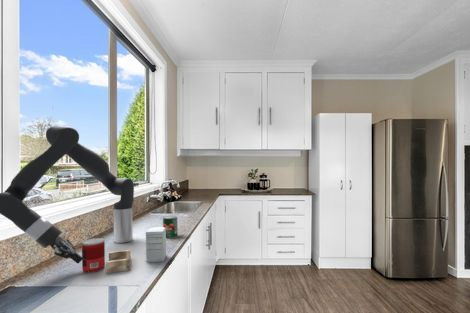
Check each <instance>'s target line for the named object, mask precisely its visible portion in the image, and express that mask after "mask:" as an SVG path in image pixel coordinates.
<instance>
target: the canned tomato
mask: <svg viewBox="0 0 470 313" xmlns="http://www.w3.org/2000/svg"><path fill="white" fill-rule="evenodd" d="M162 227H166V240H168V239H175V238H177V237H178V236H179V235H178V234H179V233H178V215H165V216H163V217H162Z"/></svg>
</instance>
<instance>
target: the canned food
mask: <svg viewBox="0 0 470 313" xmlns="http://www.w3.org/2000/svg"><path fill="white" fill-rule="evenodd" d="M105 246H106V245H105V238H99V237H96V238H89V239H85V240H83V241H82V243H81V257H82V261H81V263H82V264H81V267H82V268H81V269H82V271H83V272H84V273H89V274H90V273H95V272H99V271H102V270H103V269H104V268H105V267H106V258H105V257H106V255H105V254H106V252H105V251H106V250H105Z"/></svg>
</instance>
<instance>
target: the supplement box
mask: <svg viewBox="0 0 470 313" xmlns="http://www.w3.org/2000/svg"><path fill="white" fill-rule="evenodd" d="M145 257H146V260H145V261H146V263H151V262H152V263H155V262H156V263H157V262H164V261H165V259H166V257H167V239H166V227H163V226H161V227H159V226H158V227H148V229H147V230H146V231H145Z"/></svg>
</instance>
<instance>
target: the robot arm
mask: <svg viewBox="0 0 470 313" xmlns="http://www.w3.org/2000/svg"><path fill="white" fill-rule="evenodd" d="M45 138H46V140H47V143H49V145H50V146H49V147H48V148H47V149H46V150H45V151H44V152H43V153H42V154H40V155H39V156H37V157H36V158H33V160H30V161H29V162H28V163H27V164H25V165H24V166H23V167H22V168H21V169H20V170H19V171H18V173H17V174H16V175H15V176H13V177H14V178H12V180H11V181H10V185H9V186H8V187H7V189H5V190H4V192H0V215H2V216H4V217H5V218H6V219H8V220H10V221H11V222H12V223H13V224H14V225H15V226H16V227H17V228H19V229H20V230H22V232H24V233H25V234H26V235H27V236H28V237H29V238H30V239H32V240H33V241H34V242H36V243H37V244H38V245H39V246H41V247H42V248H44V249H47V247H48V248H49V246H50V248H51V249H52V250H53V251H54V255H55V256H59V257H62V259H63V258H64V259H71V260H72V261H74V262H75V263H76V264H79V263H82V255H80V254H79V253H78V252H77V251H76V248H75V246H74V245H73V243H72V242H71V241H70V240H69V239H68V238H67V239H66V238H63V237H61V236H60V235H61V234H62V231H61V230H60V229H59V228H58V227H57V226H55V225H54V224H52V223H51V222H50V221H49V220H47V219H46V218H44V217H42V216H41V215H40V214H38V213H37V212H36V211H35V210H33V209H31V208H29V207H28V205H26V203H24V200H25V198H27V196H28V194H29V193H30V191H32V189H33V188H34V187H35V186H36V185H37V184H38V182H40V181H41V179H42V178H43V176H44V175H46V174H47V172H48V171H49V170H50V169H51V168H52V167H53V166H54V165H56V164H57V162H58V161H60V160H61V159H62V158H63V157H65V155H67V156H68V157H69V158H70V159H72V160H73V162H74V163H76V164H77V165H79V166H80V167H81V168H82V169H83V170H84V171H85V172H87V173H88V174H89V175H90V176H92V177H93V178H95V179H96V180H97V181H98V182H100V183H101V184H102V185H103V186H104V187H105V188H106V189H107V190H108V192H110V193H111V194H113V195H115V196H120V198H119V200H118V201H116V202H114V203H113V242H114V243H116V244H121V243H129V242H131V241H133V239H134V237H133V235H134V234H133V231H134V230H133V204H134V196H135V185H134V182H133V180H132V179H131V178H129V177H128V178H127V177H117V176H115V175H114V174H113V173H111V171H110V166H109V163H108V162H107V160H105V159H104V158H103V157H102V156H101V155H100V154H98V153H97V152H95V151H94V150H92V149H90V148H88V147H86V146H84V145H82V144H81V143H79V139H80V134H79V132H78V130H77V129H76V128H74V127H72V126H66V125H59V124H58V125H57V124H56V125H52V126H50V127H48V128H47V129H46V132H45Z"/></svg>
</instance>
